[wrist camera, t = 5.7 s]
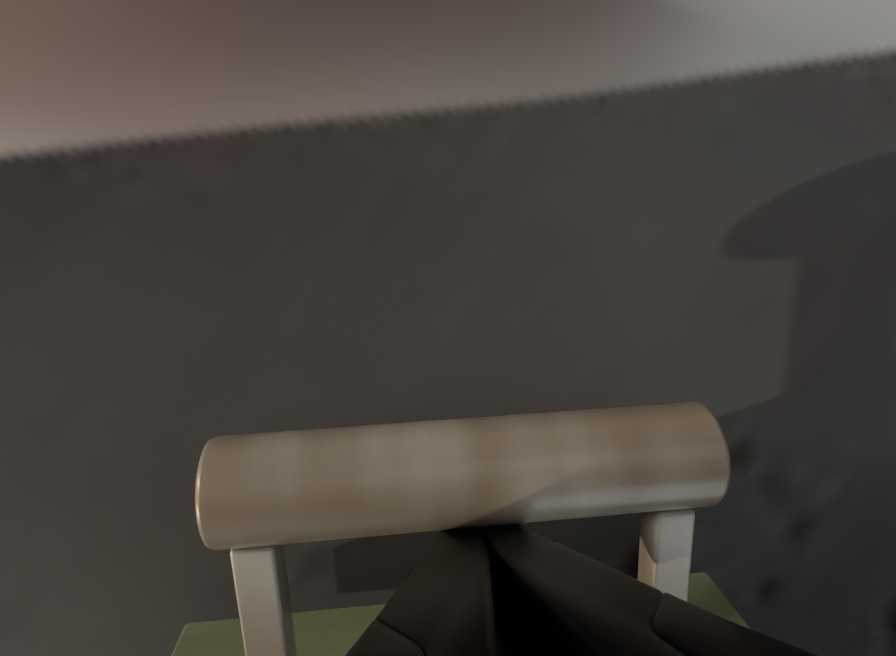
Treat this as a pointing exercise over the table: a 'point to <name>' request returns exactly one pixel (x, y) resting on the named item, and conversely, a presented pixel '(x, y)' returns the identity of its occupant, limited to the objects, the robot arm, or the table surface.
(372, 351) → the table surface
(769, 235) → the table surface
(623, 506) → the drawer
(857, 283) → the table surface
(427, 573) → the robot arm
